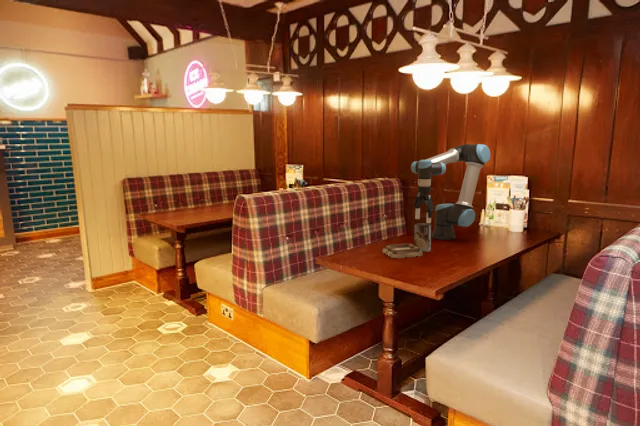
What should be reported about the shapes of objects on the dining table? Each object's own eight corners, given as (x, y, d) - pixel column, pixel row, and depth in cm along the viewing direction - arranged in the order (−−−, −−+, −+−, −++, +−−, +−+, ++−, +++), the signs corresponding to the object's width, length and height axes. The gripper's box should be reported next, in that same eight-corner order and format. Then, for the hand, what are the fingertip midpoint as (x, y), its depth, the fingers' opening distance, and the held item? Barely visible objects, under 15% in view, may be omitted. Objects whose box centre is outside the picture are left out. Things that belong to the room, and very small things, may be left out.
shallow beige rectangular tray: (382, 252, 260) (382, 245, 260) (411, 249, 265) (411, 242, 265) (392, 258, 247) (392, 251, 246) (422, 256, 252) (422, 248, 251)
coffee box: (431, 249, 266) (432, 223, 263) (428, 252, 260) (429, 225, 257) (416, 247, 270) (417, 222, 267) (413, 250, 265) (414, 224, 262)
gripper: (408, 184, 269) (407, 217, 273) (429, 188, 245) (427, 225, 249) (419, 183, 271) (418, 216, 275) (440, 188, 247) (439, 224, 251)
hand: (422, 221), depth 262 cm, fingers open, 13 cm apart
